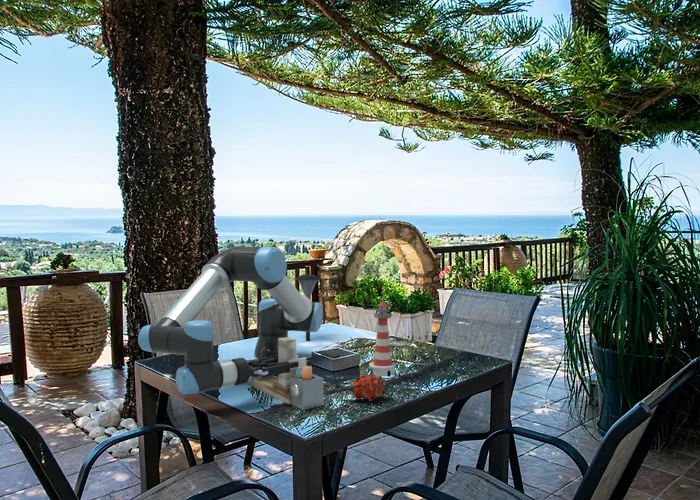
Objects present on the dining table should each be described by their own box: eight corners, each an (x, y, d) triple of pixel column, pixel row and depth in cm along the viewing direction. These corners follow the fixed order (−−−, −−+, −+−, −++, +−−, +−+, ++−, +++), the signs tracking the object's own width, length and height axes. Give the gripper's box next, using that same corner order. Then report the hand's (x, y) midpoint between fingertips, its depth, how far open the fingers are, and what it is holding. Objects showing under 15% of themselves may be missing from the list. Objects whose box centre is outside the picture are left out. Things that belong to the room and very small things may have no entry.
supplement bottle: (284, 372, 194) (284, 339, 194) (275, 377, 188) (275, 343, 187) (266, 371, 196) (266, 338, 196) (257, 376, 190) (257, 341, 189)
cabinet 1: (263, 378, 187) (263, 363, 187) (274, 382, 181) (273, 368, 181) (243, 382, 182) (243, 367, 182) (253, 386, 177) (253, 371, 176)
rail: (275, 382, 182) (275, 375, 181) (311, 399, 164) (311, 391, 164) (253, 386, 177) (253, 379, 177) (288, 404, 159) (288, 396, 159)
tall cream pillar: (288, 385, 172) (288, 335, 172) (302, 391, 166) (302, 339, 165) (273, 388, 169) (272, 337, 168) (286, 395, 163) (286, 342, 162)
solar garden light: (289, 340, 250) (288, 275, 249) (310, 336, 259) (309, 273, 257) (305, 344, 241) (305, 276, 240) (326, 340, 250) (326, 275, 248)
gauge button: (308, 385, 161) (308, 365, 161) (313, 387, 158) (313, 367, 158) (299, 387, 159) (299, 367, 159) (305, 389, 157) (305, 369, 156)
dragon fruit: (390, 403, 165) (352, 413, 161) (381, 381, 171) (344, 390, 168) (393, 386, 159) (354, 396, 156) (383, 364, 165) (345, 372, 162)
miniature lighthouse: (377, 380, 184) (377, 292, 183) (364, 374, 192) (364, 289, 191) (400, 377, 188) (400, 290, 187) (386, 371, 196) (386, 288, 195)
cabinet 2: (310, 399, 164) (310, 373, 163) (323, 405, 158) (323, 378, 158) (288, 404, 159) (288, 377, 159) (301, 410, 154) (301, 382, 153)
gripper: (219, 378, 163) (287, 366, 177) (245, 392, 149) (316, 378, 164) (219, 354, 163) (287, 343, 177) (245, 365, 149) (316, 353, 163)
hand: (301, 360), depth 170 cm, fingers closed on tall cream pillar, 4 cm apart
